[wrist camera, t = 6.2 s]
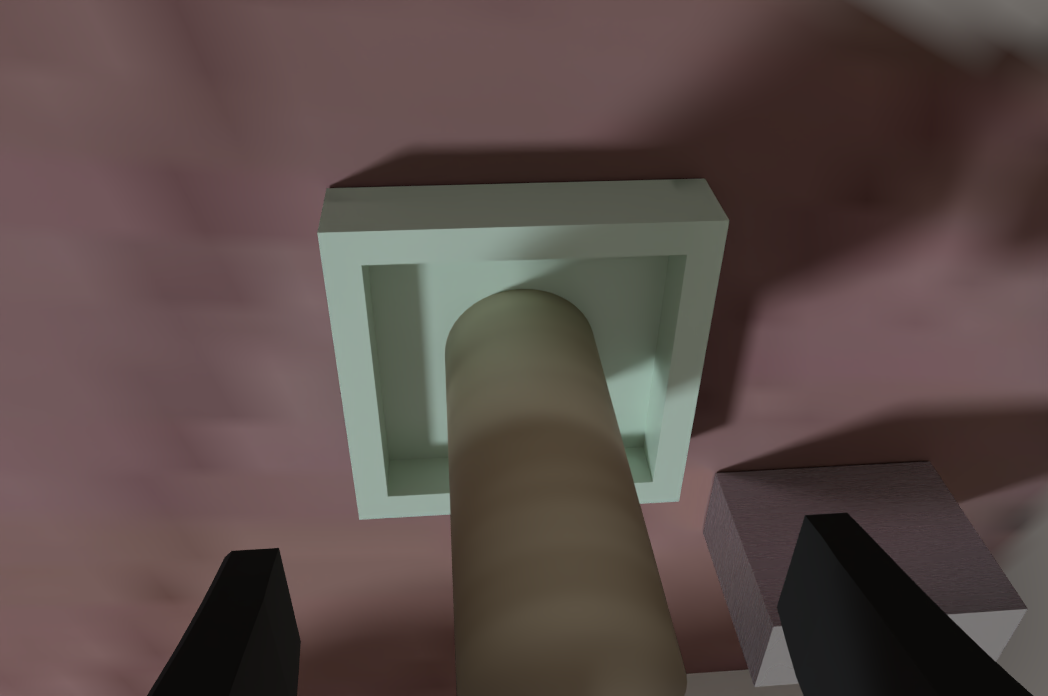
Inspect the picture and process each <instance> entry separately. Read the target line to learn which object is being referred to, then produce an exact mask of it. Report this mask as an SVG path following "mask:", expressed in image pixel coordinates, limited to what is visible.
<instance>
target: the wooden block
mask: <svg viewBox="0 0 1048 696" xmlns="http://www.w3.org/2000/svg"><path fill="white" fill-rule="evenodd" d="M831 513H848V514H849V515H850V516H851V517H852V518H853V519H854V520H855V521H856V522H857V523H858V524H859V525H860V526H861V527H862V528H863V529H864V530H865V531H866V532H867V533H868V534H869V535H870V536H871V537H872V538H873V539H874V541H875V542H876V543H877V544H878V545H879V546H880V547H881V548H882V549H883V550H884V551H885V552H886V553H887V554H888V555H889V556H890V557H891V558H892V559H893V560H894V561H895V562H896V563H897V564H898V565H899V566H900V568H901V569H902V570H903V571H904V572H905V573H906V574H907V575H908V576H909V577H910V578H911V579H912V580H913V581H914V582H915V583H916V584H917V585H918V586H919V587H920V588H921V589H922V590H923V591H924V592H925V593H926V594H927V595H928V596H929V597H930V598H931V599H932V600H933V601H934V602H935V603H936V604H937V605H938V606H939V607H940V608H941V609H942V610H943V611H944V612H945V613H946V614H947V615H948V616H949V617H950V618H951V619H952V620H953V621H954V622H955V623H956V624H957V625H958V626H959V627H960V628H961V629H962V630H963V631H964V632H965V633H966V634H967V635H968V636H969V637H970V638H971V639H972V640H974V641H975V642H976V643H977V644H978V645H979V646H980V647H981V648H982V649H983V650H984V651H985V652H986V653H987V654H988V655H989V656H990V657H991V658H992V659H993V660H994V661H995V662H996V661H997V659H998V658H999V656H1000V655H1001V653H1002V651H1003V650H1004V648H1005V646H1006V645H1007V643H1008V641H1009V640H1010V638H1011V636H1012V635H1013V633H1014V631H1015V630H1016V628H1017V626H1018V625H1019V623H1020V621H1021V620H1022V618H1023V616H1024V615H1025V613H1026V611H1027V607H1026V606H1025V604H1024V603H1023V601H1022V600H1021V598H1020V596H1019V595H1018V593H1017V592H1016V590H1015V589H1014V587H1013V586H1012V584H1011V583H1010V581H1009V580H1008V578H1007V577H1006V575H1005V574H1004V572H1003V571H1002V569H1001V568H1000V566H999V565H998V563H997V562H996V560H995V559H994V557H993V556H992V554H991V553H990V551H989V550H988V548H987V547H986V545H985V544H984V542H983V541H982V539H981V538H980V536H979V535H978V533H977V532H976V530H975V529H974V527H973V526H972V524H971V523H970V521H969V520H968V518H967V517H966V515H965V514H964V512H963V511H962V509H961V508H960V506H959V505H958V503H957V502H956V500H955V499H954V497H953V496H952V494H951V493H950V491H949V490H948V488H947V486H946V485H945V483H944V482H943V480H942V479H941V477H940V476H939V474H938V473H937V471H936V470H935V468H934V467H933V465H932V464H931V462H930V461H929V462H911V463H892V464H874V465H856V466H837V467H819V468H801V469H782V470H764V471H746V472H727V473H716V474H715V479H714V484H713V489H712V493H711V498H710V503H709V507H708V512H707V517H706V522H705V526H704V531H703V534H704V537H705V540H706V543H707V546H708V549H709V552H710V555H711V558H712V561H713V564H714V567H715V570H716V573H717V576H718V579H719V582H720V585H721V588H722V591H723V594H724V597H725V600H726V603H727V606H728V609H729V612H730V615H731V618H732V621H733V624H734V627H735V630H736V633H737V636H738V639H739V642H740V645H741V648H742V651H743V654H744V657H745V660H746V663H747V666H748V669H749V672H750V675H751V678H752V681H753V684H754V687H762V686H775V685H788V684H799V683H798V681H797V678H796V675H795V671H794V668H793V664H792V661H791V658H790V654H789V651H788V647H787V644H786V640H785V636H784V633H783V629H782V625H781V621H780V617H779V614H778V610H777V604H778V601H779V598H780V595H781V591H782V588H783V585H784V582H785V578H786V575H787V572H788V569H789V565H790V562H791V559H792V556H793V552H794V549H795V546H796V543H797V539H798V536H799V533H800V530H801V526H802V523H803V520H804V516H805V515H815V514H831Z"/></svg>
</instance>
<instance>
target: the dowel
mask: <svg viewBox="0 0 1048 696" xmlns="http://www.w3.org/2000/svg"><path fill="white" fill-rule="evenodd" d="M445 374H446V403H447V431H448V460H449V489H450V517H451V546H452V575H453V603H454V632H455V661H456V689H457V696H684V695H685V693H686V688H687V675H686V671H685V667H684V664H683V660H682V656H681V653H680V649H679V645H678V642H677V638H676V634H675V631H674V627H673V623H672V620H671V616H670V612H669V609H668V605H667V602H666V598H665V594H664V591H663V587H662V583H661V580H660V576H659V572H658V569H657V565H656V561H655V558H654V554H653V550H652V547H651V543H650V539H649V536H648V532H647V528H646V525H645V521H644V517H643V514H642V510H641V506H640V503H639V499H638V496H637V492H636V488H635V485H634V481H633V477H632V474H631V470H630V466H629V463H628V459H627V455H626V452H625V448H624V444H623V441H622V437H621V433H620V430H619V426H618V422H617V419H616V415H615V411H614V408H613V404H612V400H611V397H610V393H609V390H608V386H607V382H606V379H605V375H604V371H603V368H602V364H601V360H600V357H599V353H598V349H597V346H596V342H595V338H594V335H593V332H592V328H591V326H590V324H589V322H588V320H587V318H586V317H585V316H584V314H583V313H582V312H581V311H580V310H579V309H578V308H577V307H576V306H575V305H573V304H572V303H571V302H569V301H568V300H566V299H564V298H562V297H560V296H558V295H555V294H553V293H550V292H546V291H542V290H534V289H515V290H508V291H503V292H499V293H496V294H493V295H490V296H488V297H486V298H484V299H482V300H480V301H478V302H477V303H475V304H473V305H472V306H471V307H469V308H468V309H467V310H466V311H465V312H464V313H463V314H462V315H461V316H460V317H459V318H458V319H457V321H456V322H455V323H454V325H453V327H452V328H451V330H450V332H449V335H448V337H447V341H446V346H445Z"/></svg>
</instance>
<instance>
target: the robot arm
mask: <svg viewBox="0 0 1048 696" xmlns="http://www.w3.org/2000/svg"><path fill="white" fill-rule="evenodd" d="M777 610H778V614H779V617H780V621H781V625H782V629H783V633H784V636H785V640H786V644H787V647H788V651H789V654H790V658H791V661H792V664H793V668H794V671H795V675H796V678H797V681H798V683H799V686H800V688H801V691H802V693H803V696H1033V695H1032V694H1031V693H1030V692H1028V691H1027V690H1026V689H1025V688H1024V687H1023V686H1022V685H1021V684H1019V683H1018V682H1017V681H1016V680H1015V679H1014V678H1013V677H1012V676H1010V675H1009V674H1008V673H1007V672H1006V671H1005V670H1004V669H1003V668H1002V667H1001V666H1000V665H999V664H997V662H995V661H994V660H993V659H992V658H991V657H990V656H989V655H988V654H987V653H986V652H985V651H984V650H983V649H982V648H981V647H980V646H979V645H978V644H977V643H976V642H975V641H974V640H972V639H971V638H970V637H969V636H968V635H967V634H966V633H965V632H964V631H963V630H962V629H961V628H960V627H959V626H958V625H957V624H956V623H955V622H954V621H953V620H952V619H951V618H950V617H949V616H948V615H947V614H946V613H945V612H944V611H943V610H942V609H941V608H940V607H939V606H938V605H937V604H936V603H935V602H934V601H933V600H932V599H931V598H930V597H929V596H928V595H927V594H926V593H925V592H924V591H923V590H922V589H921V588H920V587H919V586H918V585H917V584H916V583H915V582H914V581H913V580H912V579H911V578H910V577H909V576H908V575H907V574H906V573H905V572H904V571H903V570H902V569H901V568H900V566H899V565H898V564H897V563H896V562H895V561H894V560H893V559H892V558H891V557H890V556H889V555H888V554H887V553H886V552H885V551H884V550H883V549H882V548H881V547H880V546H879V545H878V544H877V543H876V542H875V541H874V539H873V538H872V537H871V536H870V535H869V534H868V533H867V532H866V531H865V530H864V529H863V528H862V527H861V526H860V525H859V524H858V523H857V522H856V521H855V520H854V519H853V518H852V517H851V516H850V515H849V514H848V513H831V514H815V515H805V516H804V520H803V523H802V526H801V530H800V533H799V536H798V539H797V543H796V546H795V549H794V552H793V556H792V559H791V562H790V565H789V569H788V572H787V575H786V578H785V582H784V585H783V588H782V591H781V595H780V598H779V601H778V604H777ZM300 643H301V641H300V636H299V632H298V628H297V624H296V619H295V615H294V611H293V606H292V602H291V598H290V594H289V589H288V585H287V581H286V577H285V572H284V568H283V564H282V559H281V555H280V551H279V548H272V549H256V550H240V551H231V552H230V553H229V554H228V555H227V556H226V557H225V558H224V560H223V562H222V564H221V566H220V568H219V570H218V572H217V574H216V576H215V578H214V580H213V582H212V584H211V586H210V588H209V590H208V592H207V593H206V595H205V597H204V599H203V601H202V603H201V605H200V607H199V608H198V610H197V612H196V614H195V616H194V617H193V619H192V621H191V623H190V625H189V626H188V628H187V630H186V632H185V633H184V635H183V637H182V639H181V640H180V642H179V644H178V646H177V647H176V649H175V651H174V652H173V654H172V656H171V657H170V659H169V661H168V662H167V664H166V666H165V667H164V669H163V670H162V672H161V674H160V675H159V677H158V679H157V680H156V682H155V684H154V685H153V687H152V688H151V690H150V692H149V693H148V695H147V696H297V687H298V673H299V658H300Z"/></svg>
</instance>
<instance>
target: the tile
mask: <svg viewBox="0 0 1048 696" xmlns="http://www.w3.org/2000/svg"><path fill="white" fill-rule="evenodd" d="M686 675H687V688H686V693H685V695H684V696H803V693H802V691H801V688H800V686H799V684H788V685H775V686H762V687H754V684H753V681H752V678H751V675H750V672H749V670H735V671H720V672H706V673H692V674H686Z"/></svg>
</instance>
